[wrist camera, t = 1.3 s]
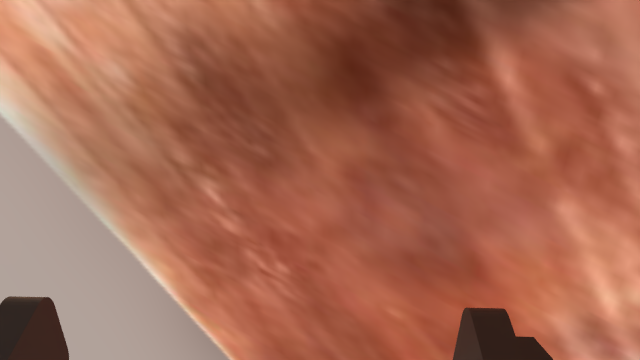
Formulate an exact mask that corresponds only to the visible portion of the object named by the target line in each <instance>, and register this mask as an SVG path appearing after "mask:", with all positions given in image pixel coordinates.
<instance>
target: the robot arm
mask: <svg viewBox="0 0 640 360" xmlns="http://www.w3.org/2000/svg"><path fill="white" fill-rule="evenodd" d="M0 360H69V353H68V348H67V345H66V341H65V338H64V335H63V332H62V329H61V325H60V322H59V318H58V315H57V312H56V309H55V305H54V303H53V301H52V300H51V299H50V298H49V297H7V298H6V299H4V300H3V301H2V303H1V304H0ZM453 360H553V359H552V358H551V356H550V355H549V354H548V353H547V352H546V351H545V350H544V348H543V347H542V346H541V345H540V344H539V343H538V342H537V341H536V339H535V338H534V337H516V336H515V333H514V330H513V327H512V325H511V322H510V319H509V316H508V313H507V312H506V310H505V309H497V308H465V309H464V311H463V314H462V318H461V323H460V328H459V333H458V337H457V342H456V347H455V352H454V357H453Z"/></svg>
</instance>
